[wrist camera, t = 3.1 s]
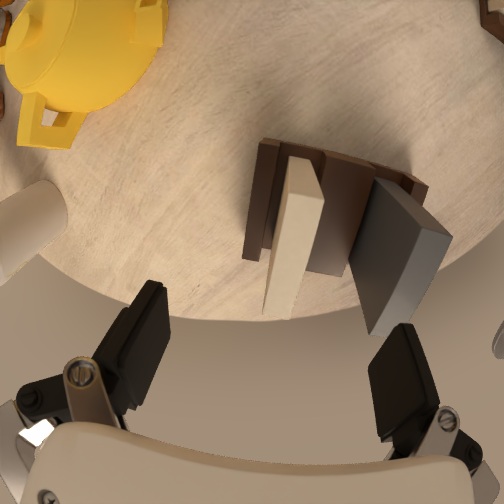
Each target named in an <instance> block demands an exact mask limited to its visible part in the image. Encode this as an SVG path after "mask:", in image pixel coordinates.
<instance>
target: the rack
mask: <svg viewBox="0 0 504 504" xmlns="http://www.w3.org/2000/svg"><path fill="white" fill-rule="evenodd" d="M289 156H293V157H298V158H303V159H308V160H310V161H311V164H312V166H313V169H314V172H315V175H316V177H317V180H318V183H319V186H320V188H321V191H322V194H323V197H324V200H325V201H324V205H323V209H322V213H321V216H320V220H319V224H318V228H317V231H316V235H315V238H314V242H313V246H312V249H311V253H310V256H309V259H308V263H307V266H306V270H305V271H311V272H316V273H322V274H327V275H333V276H338V277H342V274H343V271H344V269H345V266H346V264H349V261H348V258H349V255H350V252H351V250H352V247H353V244H354V241H355V238H356V235H357V232H358V229H359V226H360V223H361V220H362V217H363V214H364V211H365V207H366V204H367V201H368V198H369V194H370V191H371V187H372V184H373V180H374V177H375V176H376V177H379V178H382V179H386V180H389V181H392V182H395V183H396V184H397V185H399V186H400V187H401V188H402V189H403V190H404V191H406V192H407V193H408V194H409V195H410V196H411V197H412V198H414V199H415V200H416V201H417V202H418V203H419V204H420V205H421V206H423V203H424V200H425V197H426V194H427V191H428V188H429V186H427V185H426V184H424V183H423V182H422V181H420V180H419V179H417V178H416V177H414V176H413V175H410V174H408V173H405V172H402V171H399V170H396V169H393V168H389V167H386V166H383V165H380V164H376V163H373V162H370V161H366V160H363V159H359V158H356V157H352V156H348V155H344V154H340V153H336V152H332V151H328V150H324V149H320V148H315V147H311V146H306V145H301V144H296V143H291V142H286V141H280V140H275V139H269V138H263V139H262V140H261V141H260V142H259V146H258V152H257V159H256V166H255V172H254V179H253V185H252V192H251V199H250V206H249V212H248V219H247V226H246V233H245V240H244V247H243V254H242V259H247V260H252V261H257V262H259V258H260V254H261V249H262V248H266V249H271V247H272V240H273V235H274V230H275V225H276V220H277V215H278V210H279V205H280V200H281V194H282V189H283V184H284V179H285V174H286V168H287V163H288V158H289Z"/></svg>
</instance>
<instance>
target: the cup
mask: <svg viewBox="0 0 504 504" xmlns="http://www.w3.org/2000/svg"><path fill="white" fill-rule="evenodd" d="M67 222H68V214H67V208H66V205H65V202H64V199H63V197H62V195H61V193H60V191H59V190H58V189H57V187H56V186H55V185H54V184H52V183H51V182H49V181H47V180H40V181H38V182H36V183H34V184H32V185H30V186H28V187H26V188H24V189H22V190H20V191H19V192H17V193H15V194H13V195H12V196H10V197H8V198H6V199H5V200H3V201H1V202H0V286H2V285H3V284H4V283H5V282H6V281H7V280H9V279H10V278H11V277H12V276H13V275H14V274H15V273H16V272H17V271H18V270H19V269H20V268H21V267H23V266H24V265H25V264H26V263H27V262H28V261H29V260H30V259H31V258H33V257H34V256H35V255H36V254H37V253H39V252H40V251H41V250H42V249H44V248H45V247H46V246H47V245H48V244H50V243H51V242H52V241H53V240H55V239H56V238H57V237H58V236H60V235H61V234H62V233H63V232H64V231H65V229H66V227H67Z"/></svg>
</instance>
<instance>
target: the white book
mask: <svg viewBox="0 0 504 504" xmlns="http://www.w3.org/2000/svg"><path fill="white" fill-rule="evenodd" d="M324 201H325V200H324V197H323V194H322V191H321V188H320V186H319V183H318V180H317V177H316V175H315V172H314V169H313V166H312V164H311V161H310V160H308V159H303V158H298V157H293V156H289V158H288V163H287V168H286V174H285V179H284V184H283V189H282V194H281V200H280V205H279V210H278V215H277V220H276V225H275V230H274V235H273V240H272V247H271V254H270V262H269V269H268V275H267V282H266V289H265V296H264V303H263V309H262V315H264V316H269V317H275V318H281V319H286V320H290V318H291V314H292V311H293V308H294V305H295V302H296V299H297V296H298V293H299V289H300V286H301V283H302V280H303V276H304V273H305V270H306V266H307V263H308V259H309V256H310V253H311V249H312V246H313V242H314V238H315V235H316V231H317V228H318V224H319V220H320V216H321V213H322V209H323V205H324Z"/></svg>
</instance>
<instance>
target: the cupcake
mask: <svg viewBox="0 0 504 504" xmlns="http://www.w3.org/2000/svg"><path fill="white" fill-rule="evenodd" d="M3 114H4V107H3V94H2V92H0V121H1V119H2V118H3Z"/></svg>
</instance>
